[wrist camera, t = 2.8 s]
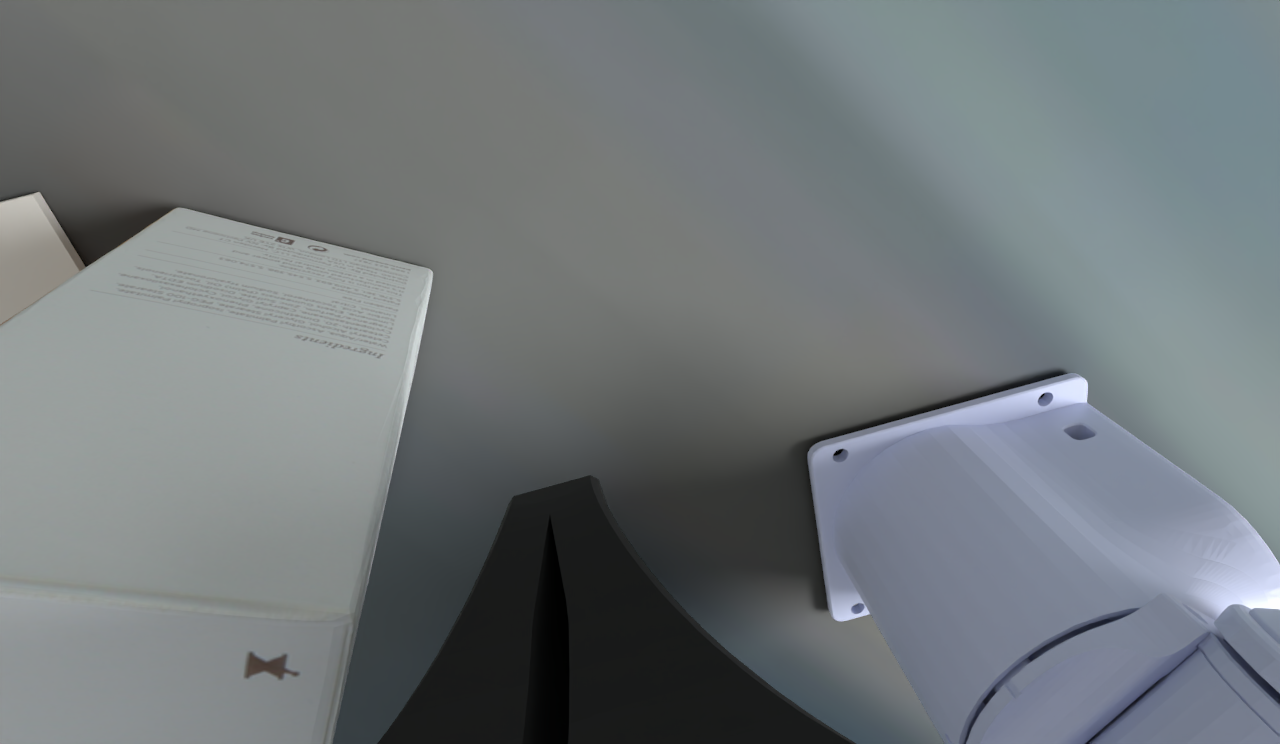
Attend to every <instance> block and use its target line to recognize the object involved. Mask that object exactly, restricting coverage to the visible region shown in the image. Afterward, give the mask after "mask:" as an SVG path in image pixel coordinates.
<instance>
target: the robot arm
mask: <svg viewBox="0 0 1280 744" xmlns="http://www.w3.org/2000/svg"><path fill="white" fill-rule="evenodd" d="M1044 393H1045V395H1044V396H1043V397H1042V398H1041V399H1039V397H1040V396H1041V395H1042V394H1044ZM1087 393H1088V384H1087V381H1086V380H1085V379H1084V378H1083V377H1081V376H1080V375H1078V374H1075V373H1069V374H1065V375H1061V376H1057V377H1054V378H1050V379H1047V380H1043V381H1039V382H1036V383H1032V384H1028V385H1025V386H1021V387H1017V388H1014V389H1010V390H1006V391H1003V392H999V393H995V394H992V395H988V396H985V397H981V398H977V399H974V400H970V401H966V402H963V403H959V404H955V405H952V406H948V407H944V408H941V409H937V410H933V411H930V412H926V413H923V414H919V415H915V416H912V417H908V418H904V419H901V420H897V421H893V422H890V423H886V424H882V425H879V426H875V427H872V428H868V429H864V430H861V431H857V432H853V433H850V434H846V435H842V436H839V437H835V438H831V439H828V440H824V441H820V442H818V443H816V444H814V445H813V446H812V447H811V448H810V450H809V452H808V456H807V459H808V466H809V473H810V481H811V488H812V495H813V502H814V509H815V517H816V524H817V531H818V538H819V545H820V553H821V560H822V567H823V574H824V581H825V589H826V596H827V603H828V609H829V612H830V614H831V616H832V618H833V619H835V620H836V621H847V620H850V619H854V618H857V617H861V616H865V615H868V614H871V616H872V618H873V620H874V621H875V623H876V625H877V627H878V628H879V630H880V632H881V634H882V635H883V637H884V639H885V641H886V642H887V644H888V646H889V648H890V649H891V651H892V653H893V654H894V656H895V658H896V660H897V661H898V663H899V665H900V667H901V668H902V670H903V672H904V674H905V675H906V677H907V679H908V681H909V682H910V684H911V686H912V688H913V689H914V691H915V693H916V695H917V696H918V698H919V700H920V702H921V703H922V705H923V707H924V708H925V710H926V712H927V714H928V715H929V717H930V719H931V721H932V722H933V724H934V726H935V728H936V729H937V731H938V733H939V735H940V736H941V738H942V740H943V742H944V743H945V744H1280V564H1279V563H1278V561H1277V559H1276V558H1275V556H1274V555H1273V553H1272V552H1271V550H1270V549H1269V548H1268V546H1267V545H1266V543H1265V542H1264V541H1263V539H1262V538H1261V537H1260V535H1259V534H1258V533H1257V532H1256V531H1255V529H1254V528H1253V527H1252V526H1251V525H1250V524H1249V523H1248V521H1247V520H1246V519H1245V518H1244V517H1243V516H1242V515H1241V514H1240V513H1238V512H1237V511H1236V510H1235V509H1234V508H1233V507H1232V506H1231V505H1230V504H1228V503H1227V502H1226V501H1225V500H1223V499H1222V498H1221V497H1220V496H1218V495H1217V494H1215V493H1214V492H1213V491H1211V490H1210V489H1208V488H1207V487H1205V486H1204V485H1203V484H1201V483H1200V482H1198V481H1197V480H1196V479H1194V478H1193V477H1191V476H1190V475H1189V474H1187V473H1186V472H1184V471H1183V470H1181V469H1180V468H1179V467H1177V466H1176V465H1174V464H1173V463H1172V462H1170V461H1169V460H1167V459H1166V458H1164V457H1163V456H1162V455H1160V454H1159V453H1157V452H1156V451H1155V450H1153V449H1152V448H1150V447H1149V446H1148V445H1146V444H1145V443H1143V442H1142V441H1140V440H1139V439H1138V438H1136V437H1135V436H1133V435H1132V434H1131V433H1129V432H1128V431H1126V430H1125V429H1124V428H1122V427H1121V426H1119V425H1118V424H1116V423H1115V422H1114V421H1112V420H1111V419H1109V418H1108V417H1107V416H1105V415H1104V414H1102V413H1101V412H1099V411H1098V410H1097V409H1095V408H1094V407H1092V406H1091V405H1090V404H1088V403H1087ZM1038 399H1039V400H1038ZM839 449H843V451H842V453H841V454H839V455H837V456H833V454H834V453H835V452H836V451H837V450H839ZM857 603H858V604H857ZM855 604H857V605H855ZM853 605H855V606H853ZM378 744H856V743H854V742H853V741H851V740H849V739H848V738H846V737H845V736H843V735H841V734H840V733H838V732H837V731H835V730H833V729H832V728H830V727H829V726H827V725H826V724H824V723H823V722H821V721H820V720H818V719H817V718H815V717H813V716H812V715H810V714H809V713H808V712H806V711H805V710H803V709H802V708H801V707H799V706H798V705H796V704H795V703H794V702H792V701H791V700H789V699H788V698H786V697H785V696H784V695H782V694H781V693H779V692H778V691H777V690H775V689H774V688H773V687H772V686H770V685H769V684H768V683H767V682H765V681H764V680H763V679H762V678H760V677H759V676H758V675H757V674H755V673H754V672H753V671H752V670H750V669H749V668H748V667H747V666H745V665H744V664H743V663H742V662H740V661H739V660H738V659H737V658H736V657H734V656H733V655H732V654H731V653H729V652H728V651H727V650H726V649H725V648H724V647H723V646H722V645H720V644H719V643H718V642H717V641H716V640H715V639H714V638H713V637H712V636H711V635H710V634H709V633H707V632H706V631H705V630H704V629H703V628H702V627H701V626H700V625H699V624H698V623H697V622H696V621H695V620H694V619H693V618H692V617H691V616H690V615H689V614H688V613H687V612H686V611H685V610H684V609H683V608H682V607H681V606H680V604H679V603H678V602H677V601H676V600H675V599H674V598H673V597H672V596H671V595H670V593H669V592H668V591H667V590H666V589H665V588H664V586H663V585H662V584H661V583H660V582H659V580H658V579H657V578H656V577H655V576H654V575H653V573H652V572H651V571H650V570H649V568H648V567H647V566H646V564H645V563H644V562H643V561H642V559H641V558H640V557H639V555H638V554H637V552H636V551H635V549H634V548H633V547H632V545H631V544H630V542H629V541H628V539H627V538H626V537H625V535H624V534H623V532H622V530H621V529H620V527H619V526H618V524H617V522H616V521H615V519H614V517H613V515H612V513H611V512H610V510H609V508H608V506H607V504H606V501H605V498H604V494H603V491H602V488H601V485H600V481H599V479H597V478H595V477H593V476H591V475H590V476H586V477H582V478H579V479H575V480H571V481H568V482H564V483H561V484H557V485H553V486H550V487H546V488H542V489H539V490H535V491H531V492H528V493H524V494H520V495H517V496H514V497H513V498H512V500H511V501H510V503H509V505H508V507H507V510H506V513H505V515H504V518H503V520H502V523H501V525H500V528H499V530H498V533H497V535H496V538H495V540H494V543H493V545H492V547H491V550H490V552H489V554H488V557H487V559H486V561H485V563H484V565H483V568H482V570H481V572H480V574H479V576H478V578H477V580H476V582H475V585H474V587H473V589H472V591H471V593H470V595H469V597H468V599H467V601H466V603H465V605H464V607H463V609H462V611H461V613H460V615H459V616H458V618H457V620H456V622H455V624H454V626H453V627H452V629H451V631H450V633H449V635H448V637H447V638H446V640H445V642H444V644H443V646H442V648H441V649H440V651H439V653H438V655H437V656H436V658H435V660H434V661H433V663H432V665H431V666H430V668H429V670H428V671H427V673H426V674H425V676H424V678H423V679H422V681H421V682H420V684H419V685H418V687H417V688H416V690H415V691H414V693H413V695H412V696H411V698H410V699H409V701H408V702H407V704H406V705H405V707H404V708H403V710H402V711H401V712H400V714H399V715H398V717H397V718H396V719H395V721H394V722H393V724H392V725H391V726H390V728H389V729H388V730H387V732H386V733H385V734H384V736H383V737H382V738H381V740H380V741H379V742H378Z"/></svg>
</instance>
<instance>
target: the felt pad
mask: <svg viewBox="0 0 1280 744" xmlns="http://www.w3.org/2000/svg"><path fill="white" fill-rule="evenodd" d="M84 268H86V267H85V265H84V264H83V262H82V260H81V259H80V257H79V255H78V254H77V252H76V250H75V249H74V247H73V246H72V244H71V242H70V241H69V239H68V237H67V236H66V234H65V233H64V231H63V229H62V228H61V226H60V224H59V223H58V221H57V220H56V218H55V216H54V215H53V213H52V211H51V210H50V208H49V206H48V205H47V203H46V202H45V200H44V198H43V197H42V195H41V193H40V192H37V193H33V194H29V195H25V196H21V197H17V198H13V199H9V200H5V201H1V202H0V324H2V323H3V322H5V321H6V320H8V319H9V318H11V317H12V316H14V315H15V314H17V313H19V312H20V311H22V310H23V309H25V308H26V307H28V306H29V305H31V304H32V303H34V302H35V301H37V300H38V299H40V298H41V297H43V296H44V295H45V294H47V293H48V292H50V291H51V290H53V289H54V288H56V287H57V286H59V285H60V284H62V283H63V282H65V281H66V280H68V279H69V278H71V277H72V276H74V275H75V274H77V273H78V272H80V271H81V270H83V269H84Z"/></svg>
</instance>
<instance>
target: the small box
mask: <svg viewBox="0 0 1280 744" xmlns="http://www.w3.org/2000/svg"><path fill="white" fill-rule="evenodd" d="M432 278H433V272H432V271H431V270H430V269H428V268H425V267H421V266H417V265H413V264H408V263H405V262H401V261H397V260H393V259H388V258H384V257H380V256H376V255H372V254H369V253H365V252H361V251H356V250H352V249H348V248H344V247H340V246H336V245H331V244H327V243H323V242H319V241H315V240H310V239H306V238H302V237H298V236H294V235H290V234H286V233H281V232H277V231H273V230H269V229H266V228H261V227H257V226H253V225H248V224H244V223H241V222H237V221H233V220H229V219H225V218H221V217H217V216H213V215H209V214H205V213H201V212H197V211H193V210H189V209H186V208H180V207H178V208H175V209H173V210H171V211H170V212H169V213H167V214H166V215H164V216H163V217H161V218H160V219H158V220H157V221H155V222H154V223H152V224H150V225H149V226H147V227H146V228H145V229H143V230H142V231H141V232H139V233H138V234H136V235H134V236H133V237H131V238H130V239H128V240H127V241H125V242H124V243H122V244H121V245H119V246H118V247H116V248H115V249H113V250H112V251H110V252H108V253H107V254H105V255H104V256H102V257H101V258H99V259H98V260H96V261H95V262H93V263H92V264H90V265H89V266H87V267H86V268H84V269H83V270H81V271H80V272H78V273H77V274H75V275H74V276H72V277H71V278H69V279H68V280H66V281H65V282H63V283H62V284H60V285H59V286H57V287H56V288H54V289H53V290H51V291H50V292H48V293H47V294H45V295H44V296H43V297H41V298H40V299H38V300H37V301H35V302H34V303H32V304H31V305H29V306H28V307H26V308H25V309H23V310H22V311H20V312H19V313H17V314H15V315H14V316H12V317H11V318H9V319H8V320H6V321H5V322H3V323H2V324H0V744H332V743H333V738H334V734H335V729H336V725H337V720H338V715H339V711H340V706H341V702H342V697H343V693H344V688H345V684H346V679H347V675H348V670H349V665H350V661H351V656H352V652H353V647H354V643H355V638H356V634H357V629H358V625H359V620H360V615H361V611H362V606H363V602H364V598H365V593H366V589H367V584H368V580H369V575H370V571H371V566H372V562H373V557H374V553H375V548H376V544H377V539H378V534H379V530H380V525H381V521H382V516H383V512H384V507H385V502H386V498H387V493H388V489H389V484H390V480H391V475H392V471H393V466H394V461H395V457H396V452H397V448H398V443H399V439H400V434H401V429H402V425H403V420H404V416H405V411H406V407H407V402H408V398H409V393H410V389H411V384H412V380H413V375H414V371H415V366H416V361H417V356H418V352H419V347H420V342H421V337H422V332H423V327H424V322H425V317H426V312H427V306H428V301H429V296H430V291H431V284H432Z"/></svg>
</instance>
